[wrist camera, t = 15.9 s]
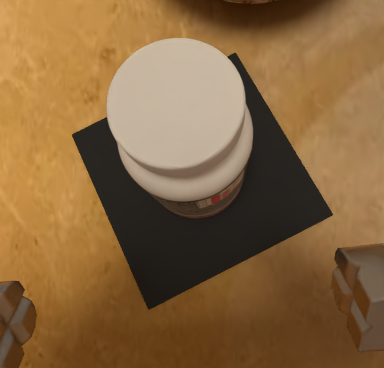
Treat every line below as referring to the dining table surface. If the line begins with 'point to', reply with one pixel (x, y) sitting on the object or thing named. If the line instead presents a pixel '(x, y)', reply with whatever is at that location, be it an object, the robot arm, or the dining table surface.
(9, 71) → the dining table surface
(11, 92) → the dining table surface
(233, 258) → the mat
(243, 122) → the pill bottle
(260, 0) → the vase
